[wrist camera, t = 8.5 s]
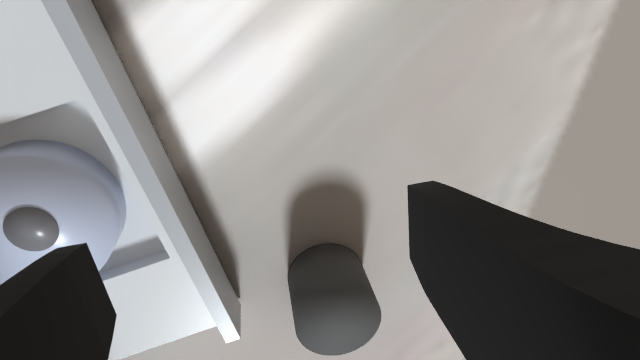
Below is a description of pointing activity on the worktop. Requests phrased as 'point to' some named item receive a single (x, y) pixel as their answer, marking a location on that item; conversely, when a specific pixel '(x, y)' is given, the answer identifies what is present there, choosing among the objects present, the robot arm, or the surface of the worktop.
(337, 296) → the dark grey cylinder
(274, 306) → the worktop surface
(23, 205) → the disc
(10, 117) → the tray
